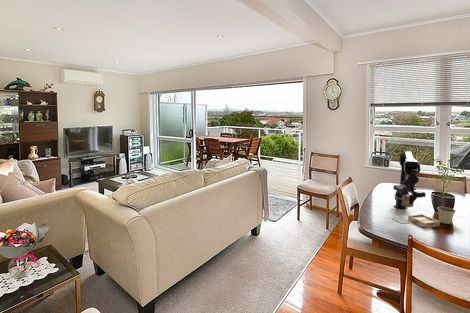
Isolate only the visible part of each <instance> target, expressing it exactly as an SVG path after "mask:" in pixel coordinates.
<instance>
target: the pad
mask: <svg viewBox="0 0 470 313" xmlns="http://www.w3.org/2000/svg"><path fill="white" fill-rule="evenodd" d="M392 220H394V221H395V222H398V223H400V224H401V225H405V224H406V225H407V224H414V223H413V222H411V221H409V220H408V218H405V217H394V218H392Z"/></svg>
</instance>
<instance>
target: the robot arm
mask: <svg viewBox="0 0 470 313" xmlns="http://www.w3.org/2000/svg"><path fill="white" fill-rule="evenodd" d="M414 155H415V154H414V153H413V151H403V152H402V153H400V154H399V155H398V163H399V165H400V166H401V168H400V177H399V184H394V186H393V190H395V193H394V200H395V205H393V207H394V208H397V209H399V210H404V209H408V207H405V206H403V205H401V204H402V195H404V194H409V196H410V205H412V204H413V205H414V203H415V201H416V200H417V198H418V199H419V198H425V197H426V195H427V194H426V192H425V191H421V190H417V188H415V187H416V185H417V184H418V182H419V180H420V179H419V176H418V175H417V174H420V172H421V164H420V163H419V161H418V160H417V159H414V157H415V156H414ZM413 202H414V203H413Z"/></svg>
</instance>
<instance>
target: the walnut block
mask: <svg viewBox="0 0 470 313" xmlns="http://www.w3.org/2000/svg"><path fill="white" fill-rule="evenodd" d="M409 194H410V193H409ZM409 194H404V195H402V204H401V205H403V206H405V207H407V208H413V207H414V203H415V201H414V202H413V204H412V205H410V196H409Z"/></svg>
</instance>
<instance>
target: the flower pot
mask: <svg viewBox="0 0 470 313" xmlns="http://www.w3.org/2000/svg"><path fill="white" fill-rule="evenodd" d="M436 209H437V212H438V213H437V214H438V221H440V224H441V223H442V224H445V225H446V224H448V225H450V224H452V221H453V217H454V215H455V213H456V211H457V210H456V209H454V208H451V207H447V206H446V207H445V206H438V207H436Z"/></svg>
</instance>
